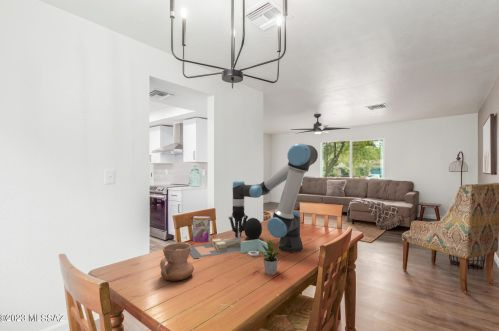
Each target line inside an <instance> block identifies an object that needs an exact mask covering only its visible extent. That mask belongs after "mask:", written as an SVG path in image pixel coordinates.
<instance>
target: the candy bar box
mask: <svg viewBox="0 0 499 331" xmlns="http://www.w3.org/2000/svg"><path fill="white" fill-rule="evenodd" d="M191 229H192V235H191V236H192V237H191V240H192V242H197V243H198V242H200V243H202V242H203V243H205V242H206V243H208V242H211V216H197V215H195V216H192V228H191Z"/></svg>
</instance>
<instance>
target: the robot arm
mask: <svg viewBox="0 0 499 331" xmlns="http://www.w3.org/2000/svg"><path fill="white" fill-rule="evenodd" d="M318 154H319V153H318V150H317V148H315V147H314V146H313V145H310V144H305V143H296V144H293V145H292V146H291V147H290V148H289V149H288V151H287V155H286V156H287V159H288V161H287V164H286V165H284V166H283V167H281V168H280V169H278V170H277V171H275V173H273V174H272V175H271V176H269V177H268V178H266V179H265V180H263V181H262V182H261V183H257V184H245V181H243V180H235V181H233V182H232V213H231V215H230V216H228V220H229V222H230V226H231V230H232V232H233V233H234V238H237V239H238V240H239V243H240V241H241V238H242V233H243V232H244V229H245V225H246V221H247V220H248V219H249V215H246V213H245V197H246V198H256V199H257V198H258V199H260V198H261V196H267V195H269V194H270V192H271V191H272V190H274V189H275V188H277V187H278V186H280V185H281V184H282V183H284V186H283V190H282V193H281V196H280V200H279V202H278V206H277V208H276V209H274V211H273V214H272V217H271V218H269V220H268V221H267V224H266V228H267V230H268V233H269V235H271V236H272V237H273V238H277V239H279V240H278V244H277V248H278V247H279V246H280V247H279V248H278V249H279V250H280V251H282V252H286V253H298V251H299V252H301V250H302V251H303V250H304V244H303V242H302V238H301V213H300V212H299V211H295V210H294V209H295V205H296V202H297V199H298V196H299V192H300V190H301V186H302V183H303V179H304V176H305V174H306V173H307V172H309V169H310V166H312V165H314V164H315V163H316V162H317V160H318V156H319V155H318ZM278 245H279V246H278Z"/></svg>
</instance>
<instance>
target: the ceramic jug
mask: <svg viewBox="0 0 499 331" xmlns="http://www.w3.org/2000/svg"><path fill="white" fill-rule="evenodd" d="M191 246H192V245H191V244H190V243H189V242H188V243H187V242H183V241H182V242H180V241H179V242H175V243H169V244H167V245H165V246H164V247H162V252H163V255H164V257H163V258H162V259H161V260H160V263H159V266H160V267H159V268H160V270H161V271H160V276H161V277H162V278H163V279H165V280H167V281H170V282H171V281H172V282H177V281H182V280H185V279H188V278H189V277H191V275H192V274H193V273H194V269H195V268H194V267H195V266H194V265H193V264H192V263H191V261H188V259H189V257H190V256H189V255H190V251H191V250H192V249H191ZM166 262H167V263H166Z"/></svg>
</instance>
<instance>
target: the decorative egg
mask: <svg viewBox="0 0 499 331" xmlns="http://www.w3.org/2000/svg"><path fill="white" fill-rule="evenodd" d="M262 231H263V226H262V223H261V221H260V220H259V219H258V218H256V217H249V218H247V220H246V225H245V229H244V231H243V232H244V235H245V236H246V237H247V239H249V240H256V239H260V237H261V236H262Z"/></svg>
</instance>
